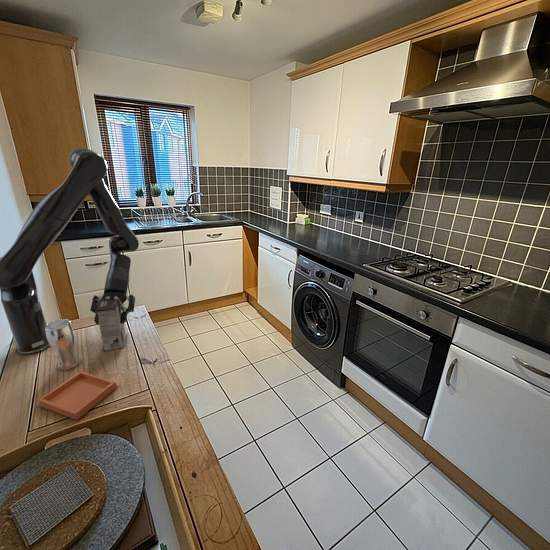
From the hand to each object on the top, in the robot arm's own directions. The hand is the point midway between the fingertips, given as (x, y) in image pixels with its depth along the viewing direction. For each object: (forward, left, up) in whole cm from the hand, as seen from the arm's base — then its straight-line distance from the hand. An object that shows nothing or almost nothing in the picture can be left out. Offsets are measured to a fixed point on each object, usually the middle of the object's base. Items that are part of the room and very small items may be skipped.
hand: (110, 323), depth 102 cm
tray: (+11, -23, -9) cm, 27 cm away
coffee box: (-1, +1, -9) cm, 9 cm away
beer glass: (-5, -14, -9) cm, 17 cm away
